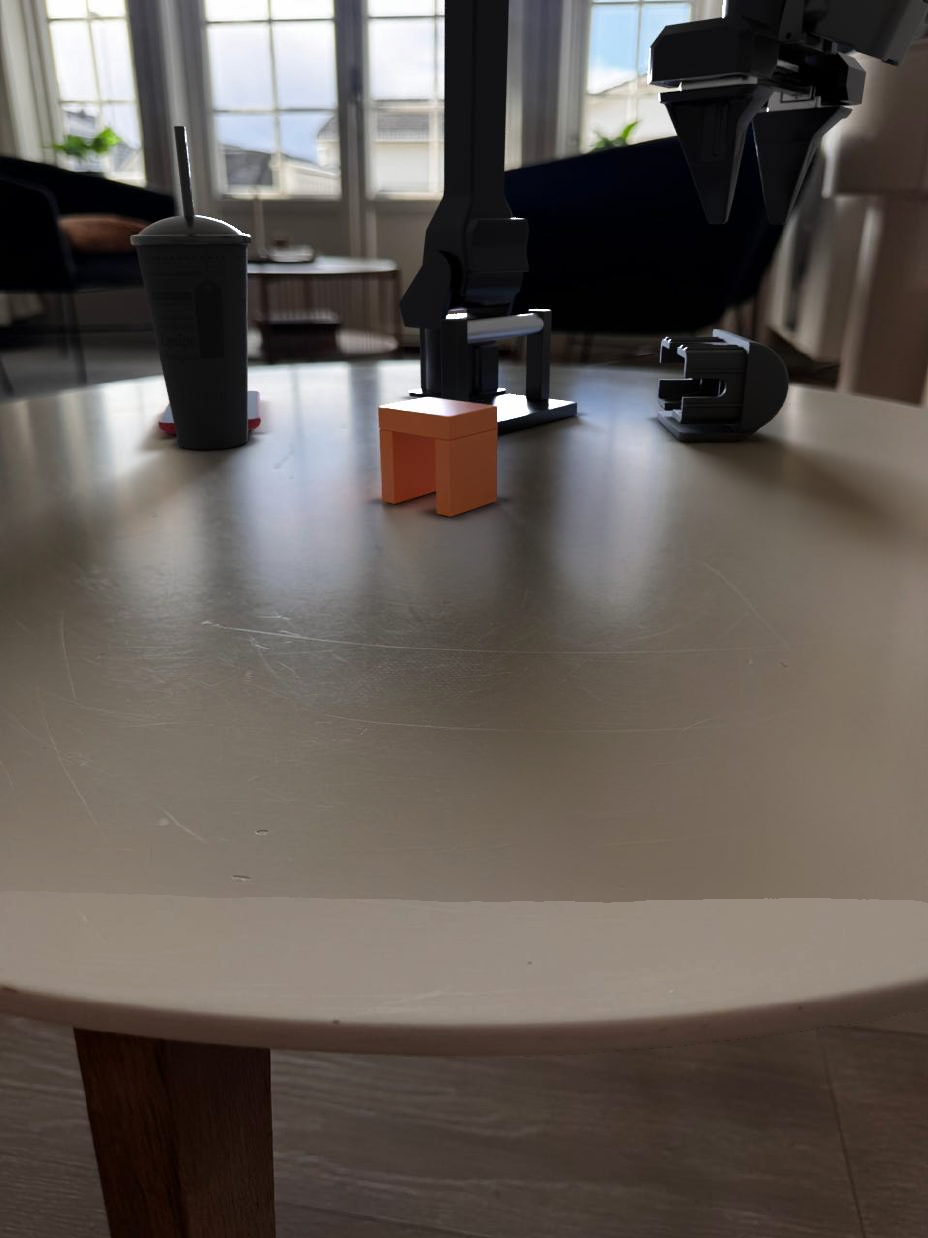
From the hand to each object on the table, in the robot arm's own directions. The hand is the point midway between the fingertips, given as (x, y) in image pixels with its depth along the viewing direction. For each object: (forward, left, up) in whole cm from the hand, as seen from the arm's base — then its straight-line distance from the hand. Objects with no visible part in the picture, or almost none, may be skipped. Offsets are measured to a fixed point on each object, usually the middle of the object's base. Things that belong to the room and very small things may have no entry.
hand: (749, 223), depth 60 cm
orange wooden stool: (-5, -25, -14) cm, 29 cm away
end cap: (-3, +3, -14) cm, 15 cm away
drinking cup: (-28, -23, -14) cm, 39 cm away
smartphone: (-36, -17, -14) cm, 43 cm away
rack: (-18, -4, -14) cm, 23 cm away
